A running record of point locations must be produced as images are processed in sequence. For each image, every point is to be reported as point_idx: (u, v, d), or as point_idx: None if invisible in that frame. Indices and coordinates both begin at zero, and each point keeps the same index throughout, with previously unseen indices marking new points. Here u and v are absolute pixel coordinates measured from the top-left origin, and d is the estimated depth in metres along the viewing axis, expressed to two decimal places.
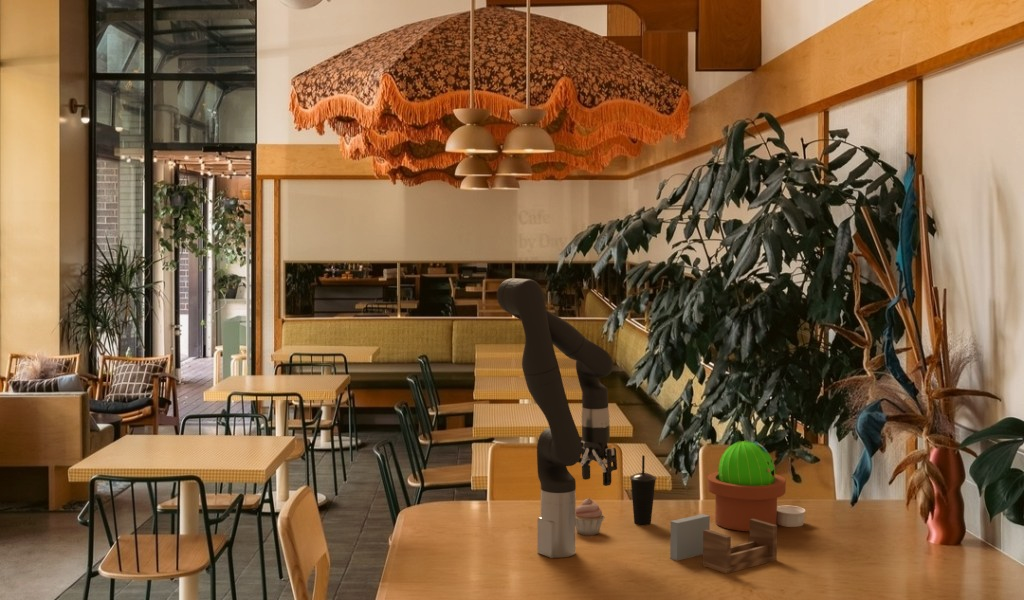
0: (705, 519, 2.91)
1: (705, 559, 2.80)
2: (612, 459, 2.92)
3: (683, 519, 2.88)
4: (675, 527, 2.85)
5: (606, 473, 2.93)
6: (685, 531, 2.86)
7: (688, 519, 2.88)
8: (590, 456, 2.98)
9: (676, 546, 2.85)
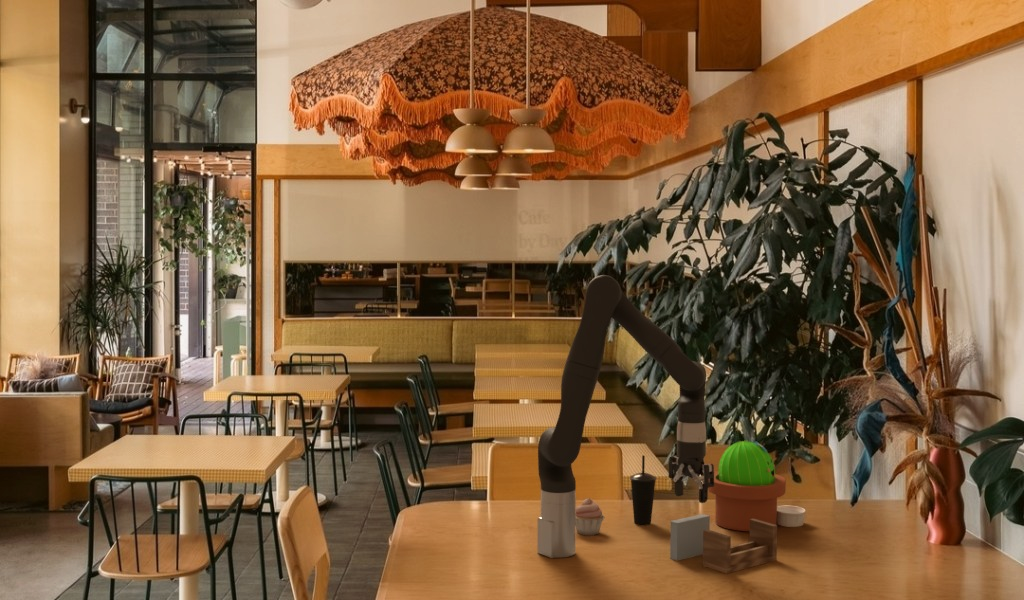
0: (705, 519, 2.91)
1: (705, 559, 2.80)
2: (709, 475, 2.82)
3: (683, 519, 2.88)
4: (675, 527, 2.85)
5: (702, 490, 2.84)
6: (685, 531, 2.86)
7: (688, 519, 2.88)
8: (685, 472, 2.88)
9: (676, 546, 2.85)
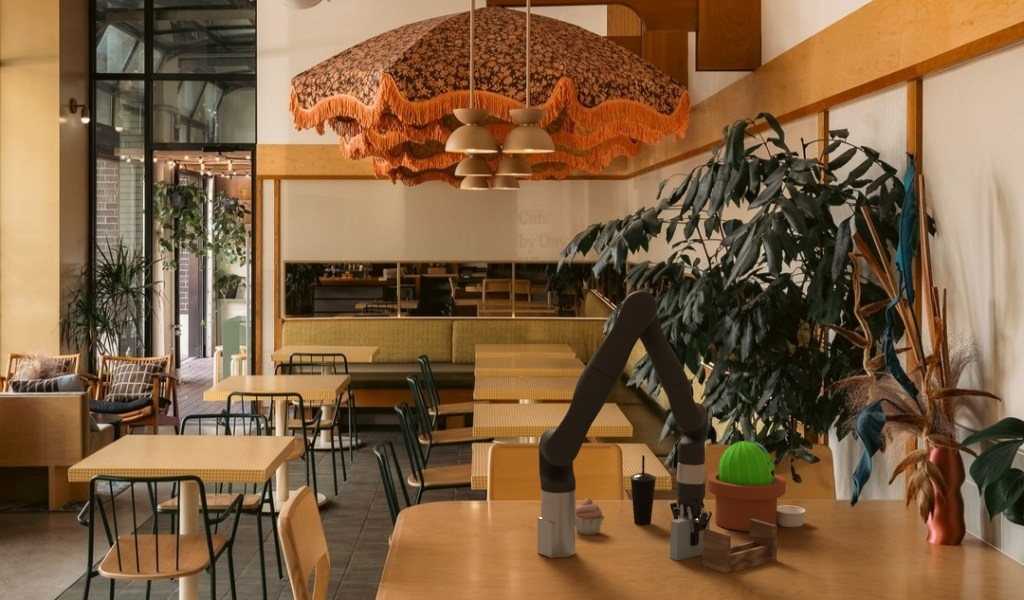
0: None
1: (705, 559, 2.80)
2: (704, 522, 2.84)
3: (683, 519, 2.88)
4: (675, 526, 2.85)
5: (694, 533, 2.87)
6: (685, 531, 2.86)
7: (688, 519, 2.88)
8: (687, 512, 2.88)
9: (676, 546, 2.85)
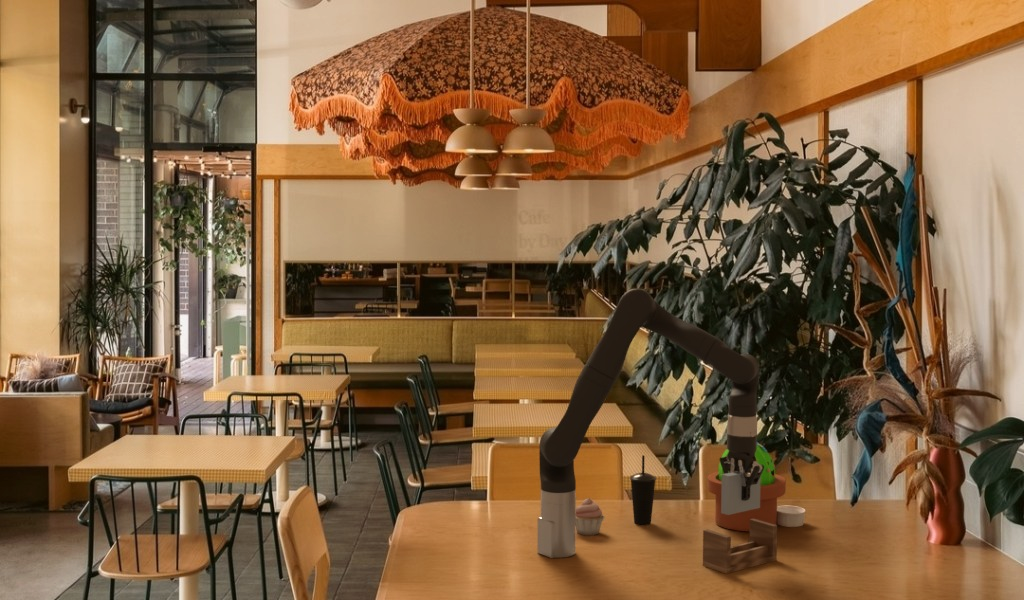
0: None
1: (705, 559, 2.80)
2: (756, 476, 2.77)
3: (734, 472, 2.81)
4: (727, 480, 2.78)
5: (745, 487, 2.80)
6: (736, 485, 2.79)
7: (739, 472, 2.81)
8: (738, 466, 2.81)
9: (728, 500, 2.78)
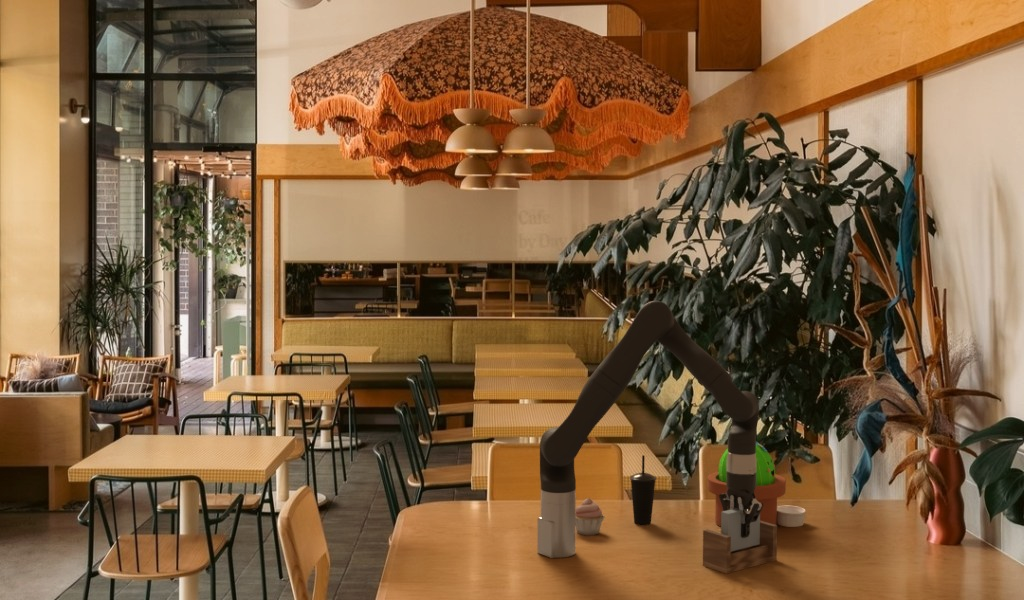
0: None
1: (705, 559, 2.80)
2: (756, 513, 2.78)
3: (734, 510, 2.82)
4: (726, 518, 2.79)
5: (745, 524, 2.81)
6: (736, 522, 2.80)
7: None
8: (737, 503, 2.82)
9: None
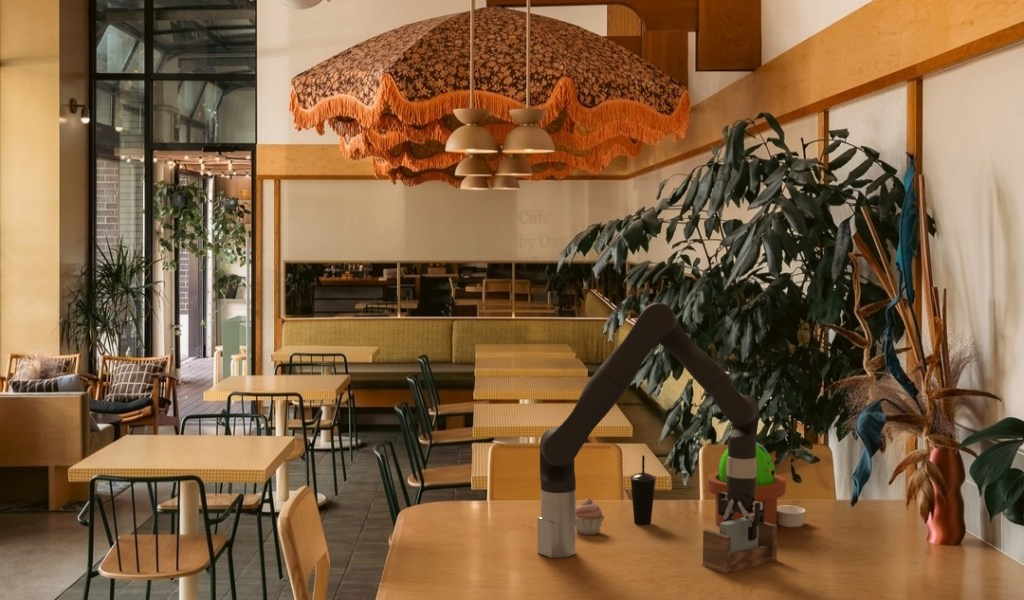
0: None
1: (705, 559, 2.80)
2: (760, 513, 2.77)
3: (732, 521, 2.81)
4: (725, 529, 2.78)
5: (752, 528, 2.79)
6: (734, 534, 2.80)
7: (737, 521, 2.81)
8: (735, 508, 2.83)
9: None
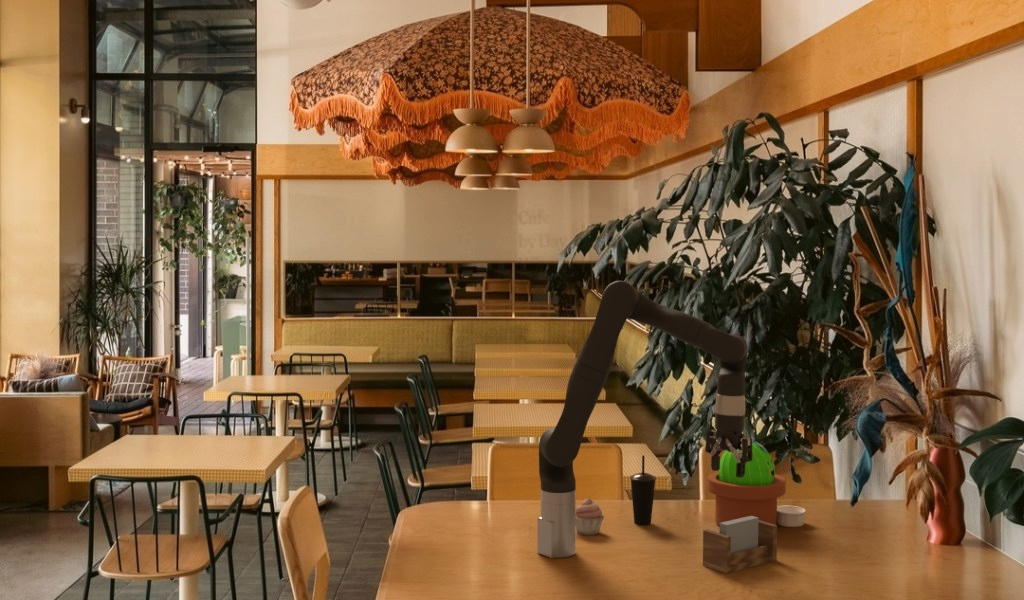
0: (754, 521, 2.84)
1: (705, 559, 2.80)
2: (748, 449, 2.78)
3: (732, 521, 2.81)
4: (725, 529, 2.78)
5: (740, 464, 2.79)
6: (734, 534, 2.80)
7: (737, 521, 2.81)
8: (722, 446, 2.84)
9: None
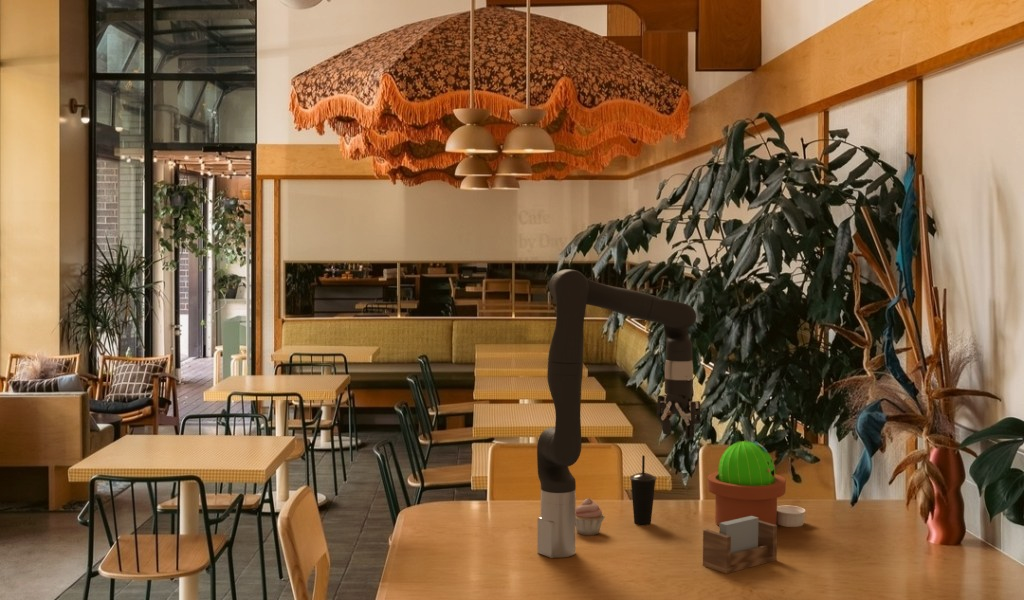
0: (754, 521, 2.84)
1: (705, 559, 2.80)
2: (696, 412, 2.89)
3: (732, 521, 2.81)
4: (725, 529, 2.78)
5: (689, 426, 2.91)
6: (734, 534, 2.80)
7: (737, 521, 2.81)
8: (672, 410, 2.95)
9: None
